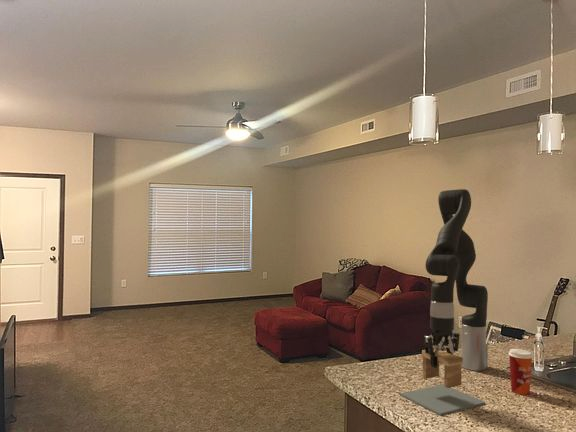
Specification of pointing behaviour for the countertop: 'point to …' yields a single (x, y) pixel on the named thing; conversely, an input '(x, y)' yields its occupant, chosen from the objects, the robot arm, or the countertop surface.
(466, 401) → the mat
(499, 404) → the countertop surface
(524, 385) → the paper cup
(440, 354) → the tan wooden block
